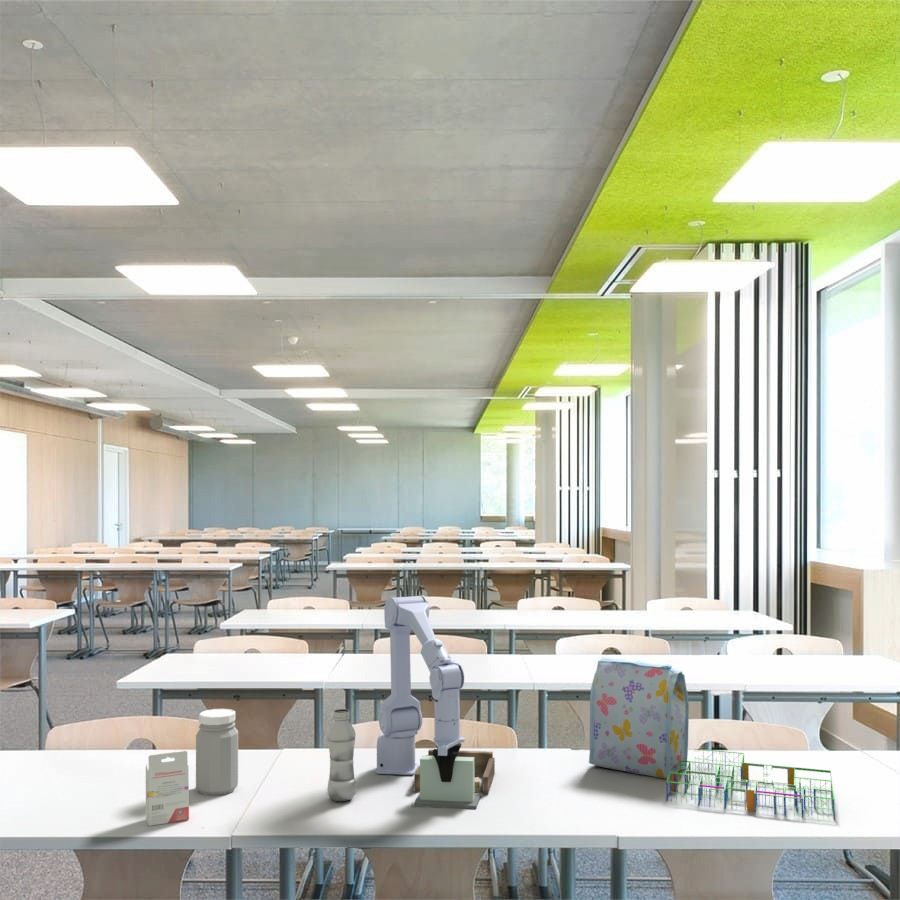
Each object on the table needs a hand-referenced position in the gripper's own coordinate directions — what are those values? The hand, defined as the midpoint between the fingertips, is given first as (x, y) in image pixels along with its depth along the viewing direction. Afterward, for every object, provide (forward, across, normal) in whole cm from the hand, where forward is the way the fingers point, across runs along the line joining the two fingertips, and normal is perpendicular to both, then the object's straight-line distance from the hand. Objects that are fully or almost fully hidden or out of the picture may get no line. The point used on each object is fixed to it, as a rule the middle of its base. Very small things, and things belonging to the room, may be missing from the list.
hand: (447, 779), depth 209 cm
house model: (+6, +17, -69) cm, 71 cm away
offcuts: (+5, +9, 0) cm, 10 cm away
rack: (+5, +15, 0) cm, 16 cm away
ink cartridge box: (+5, -19, +58) cm, 61 cm away
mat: (+5, 0, 0) cm, 5 cm away
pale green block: (+4, 0, 0) cm, 4 cm away
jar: (+5, +1, +55) cm, 55 cm away
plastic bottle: (+5, -2, +24) cm, 25 cm away
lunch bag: (+5, +31, -45) cm, 55 cm away
